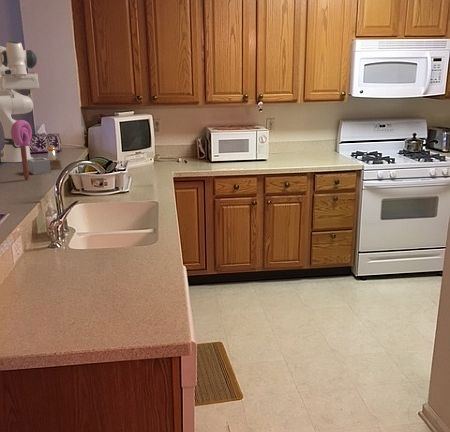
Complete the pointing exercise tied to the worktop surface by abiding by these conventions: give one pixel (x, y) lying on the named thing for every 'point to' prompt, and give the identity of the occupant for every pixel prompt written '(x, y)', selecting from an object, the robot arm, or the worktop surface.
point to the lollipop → (22, 141)
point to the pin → (51, 153)
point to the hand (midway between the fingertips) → (21, 97)
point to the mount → (55, 164)
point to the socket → (39, 166)
